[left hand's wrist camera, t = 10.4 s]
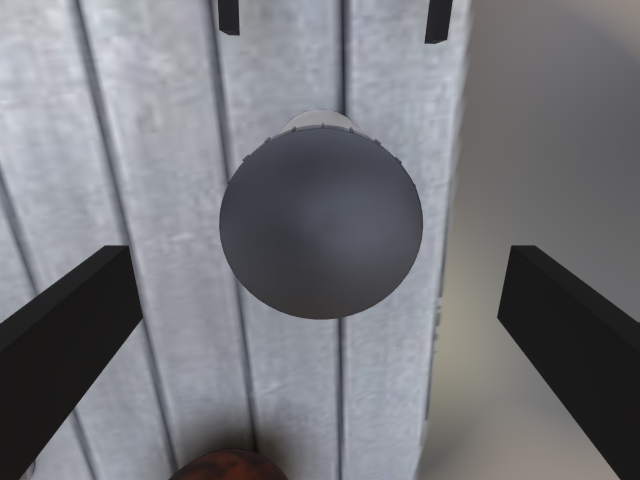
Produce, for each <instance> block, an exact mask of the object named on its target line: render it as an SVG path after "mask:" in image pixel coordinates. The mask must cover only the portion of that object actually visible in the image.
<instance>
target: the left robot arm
mask: <svg viewBox="0 0 640 480" xmlns="http://www.w3.org/2000/svg"><path fill="white" fill-rule="evenodd" d="M142 318H143V316H142V311H141V306H140V300H139V295H138V290H137V285H136V280H135V275H134V270H133V265H132V260H131V255H130V250H129V246H104V247H102V248H101V249H100V250H98V251H97V252H96V253H94V254H93V255H92V256H90V257H89V258H88V259H86V260H85V261H84V262H82V263H81V264H80V265H78V266H77V267H76V268H74V269H73V270H72V271H70V272H69V273H68V274H66V275H65V276H64V277H62V278H61V279H60V280H58V281H57V282H56V283H54V284H53V285H51V286H50V287H49V288H47V289H46V290H45V291H43V292H42V293H41V294H39V295H38V296H37V297H35V298H34V299H33V300H31V301H30V302H29V303H27V304H26V305H25V306H23V307H22V308H21V309H19V310H18V311H17V312H15V313H14V314H13V315H11V316H10V317H9V318H7V319H6V320H5V321H3V322H2V323H1V324H0V480H29V479H30V478H31V476H32V474H33V471H34V460H35V459H36V457H37V456H38V455H39V453H40V452H41V451H42V450H43V448H44V447H45V446H46V444H47V443H48V442H49V440H50V439H51V438H52V436H53V435H54V434H55V432H56V431H57V430H58V429H59V427H60V426H61V425H62V423H63V422H64V421H65V419H66V418H67V417H68V415H69V414H70V413H71V411H72V410H73V409H74V408H75V406H76V405H77V404H78V402H79V401H80V400H81V398H82V397H83V396H84V394H85V393H86V392H87V390H88V389H89V388H90V386H91V385H92V384H93V383H94V381H95V380H96V379H97V377H98V376H99V375H100V373H101V372H102V371H103V369H104V368H105V367H106V365H107V364H108V363H109V362H110V360H111V359H112V358H113V356H114V355H115V354H116V352H117V351H118V350H119V348H120V347H121V346H122V344H123V343H124V342H125V341H126V339H127V338H128V337H129V335H130V334H131V333H132V331H133V330H134V329H135V327H136V326H137V325H138V323H139V322H140V321H141V320H142ZM497 318H498V319H499V321H500V322H501V323H502V325H503V326H504V327H505V329H506V330H507V331H508V333H509V334H510V335H511V337H512V338H513V339H514V340H515V342H516V343H517V344H518V346H519V347H520V348H521V350H522V351H523V352H524V354H525V355H526V356H527V358H528V359H529V360H530V362H531V363H532V364H533V365H534V367H535V368H536V369H537V371H538V372H539V373H540V375H541V376H542V377H543V379H544V380H545V381H546V383H547V384H548V385H549V386H550V388H551V389H552V390H553V392H554V393H555V394H556V396H557V397H558V398H559V400H560V401H561V402H562V403H563V405H564V406H565V407H566V409H567V410H568V411H569V413H570V414H571V415H572V417H573V418H574V419H575V421H576V422H577V423H578V425H579V426H580V427H581V429H582V430H583V431H584V432H585V434H586V435H587V436H588V438H589V439H590V440H591V442H592V443H593V444H594V446H595V447H596V448H597V450H598V451H599V452H600V453H601V455H602V456H603V457H604V459H605V460H606V461H607V463H608V464H609V465H610V467H611V468H612V469H613V471H614V472H615V473H616V474H617V476H618V477H619V478H620V480H640V322H637V321H635V320H634V319H633V318H631V317H630V316H629V315H627V314H626V313H625V312H623V311H622V310H621V309H619V308H618V307H617V306H615V305H614V304H613V303H611V302H610V301H609V300H607V299H606V298H605V297H603V296H602V295H601V294H599V293H598V292H596V291H595V290H594V289H593V288H591V287H590V286H589V285H587V284H586V283H584V282H583V281H582V280H580V279H579V278H578V277H576V276H575V275H574V274H572V273H571V272H570V271H568V270H567V269H566V268H564V267H563V266H562V265H560V264H559V263H558V262H556V261H555V260H554V259H552V258H551V257H550V256H548V255H547V254H546V253H544V252H543V251H542V250H540V249H539V248H538V247H536V246H511V250H510V255H509V260H508V265H507V270H506V275H505V280H504V285H503V290H502V295H501V300H500V306H499V311H498V316H497Z"/></svg>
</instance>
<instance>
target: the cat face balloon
mask: <svg viewBox="0 0 640 480" xmlns="http://www.w3.org/2000/svg"><path fill="white" fill-rule="evenodd" d="M169 480H288V478H287V477H286V476H285V474H284V473H283V472H282V471H281V470H280V469H279V468H278V467H277V466H276V465H275V464H274V463H273V462H271V461H270V460H269V459H267V458H265V457H264V456H261V455H259V454H257V453H254V452H251V451H246V450H241V449H227V450H220V451H215V452H212V453H209V454H206V455H204V456H201V457H199V458H197V459H195V460H193V461H192V462H190V463H188V464H187V465H185V466H184V467H183V468H181V469H180V470H179V471H178V472H176V473H175V474H174V475H173V476H172V477H171V478H170V479H169Z"/></svg>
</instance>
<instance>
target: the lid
mask: <svg viewBox="0 0 640 480" xmlns="http://www.w3.org/2000/svg"><path fill="white" fill-rule="evenodd" d="M380 144H381V143H380V142H379V141H378V140H377V139H375V140H373V139H371V138H370V137H368V136H366V135H364V134H362V133H359V132H357V131H355V130H353V128H352V127H350V128H349V129H348V128H344V127H340V126H333V125H324V123H322V125H310V126H302V127H298V128H296V126H294V127H293V128H292V129H291V130H288V131H285V132H283V133H281V134H278V135H276V136H274V137H273V138H271V139H270V137H269V138H267V139H266V140H265V143H263V144H262V145H261V146H260V147H258V148H257V149H256V150H255V151H254V152H253V153H252V154H251V155H250V156H249V155H247V156H246V157H245V158H244V159H243V161H244V162H243V163H242V164H241V165H240V167H239V168H238V170H237V171H236V172H235V174H234V175H233V177H232V179H231V180H230V181H229V182H228V184H229V185H228V187H227V189H226V191H225V194H224V197H223V200H222V205H221V209H220V222H219V229H220V239H221V243H222V247H223V251H224V254H225V256H226V259H227V261H228V264H229V265H230V267H231V269H232V271H233V273H234V274H235V276H236V277H237V278H238V280H239V281H240V282H241V284H242V285H243V286H244V287H245V288H246V289H247V290H248V291H249V292H250V293H251V294H253V295H254V296H255V297H256V298H257V299H259V300H260V301H262V302H263V303H265V304H266V305H268V306H270V307H272V308H274V309H276V310H278V311H280V312H283V313H286V314H289V315H292V316H296V317H300V318H307V319H335V318H342V317H346V316H350V315H353V314H356V313H359V312H362V311H364V310H366V309H368V308H370V307H372V306H374V305H376V304H377V303H379V302H380V301H382V300H383V299H385V298H386V297H387V296H388V295H390V294H391V293H392V292H393V291H394V290H395V289H396V288H397V287H398V286H399V285H400V284H401V282H402V281H403V280H404V278H405V277H406V276H407V274H408V273H409V271H410V269H411V267H412V266H413V264H414V262H415V259H416V257H417V254H418V252H419V248H420V244H421V240H422V231H423V214H422V209H421V203H420V199H419V196H418V193H417V190H416V188H415V187H416V186H415V184H414V183H413V182H412V180H411V178H410V176H409V175H408V173H407V172H406V170H405V169H404V168H403V166H402V165H401V163H402V162H401V161H400V160H399V159H398V158H397V157H394V156H393V155H392V154H391V153H390V152H388V151H387V150H386V149H385V148H384V147H383V146H381V145H380Z"/></svg>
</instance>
